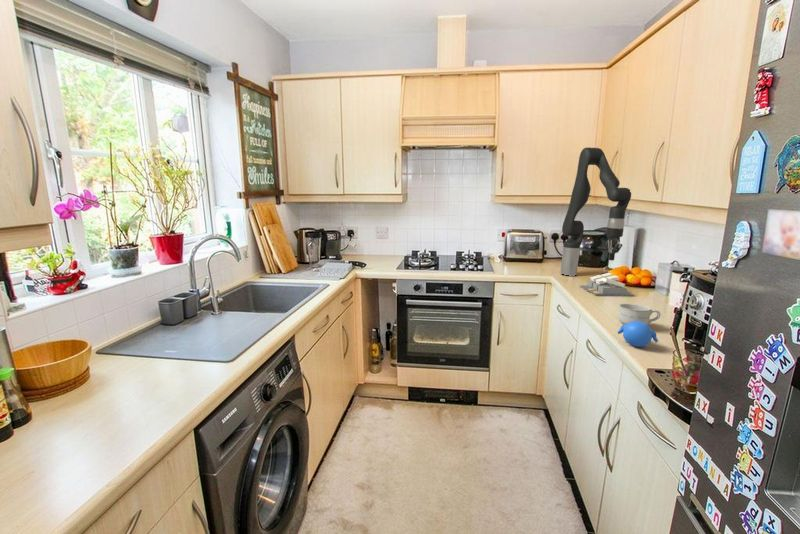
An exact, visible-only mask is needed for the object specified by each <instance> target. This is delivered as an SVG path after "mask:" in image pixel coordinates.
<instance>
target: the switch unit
mask: <svg viewBox="0 0 800 534" xmlns="http://www.w3.org/2000/svg"><path fill="white" fill-rule="evenodd" d="M579 288H581V289H582V288H583V290H584V289H585V290H584V291H586V290H587V291H586V292H588V293H589V294H591V293H592V295H593V294H594V296H595V297H635V294H634V293H631V292H629V291H628V288H627V287H625V286H624V287H621V286H618V285H614V284H611V283H603V284H598V283H596V281H595V282H594V281H592V280H591V279H588V280H587V285H584V284H583V285H582V284H581V285H579Z"/></svg>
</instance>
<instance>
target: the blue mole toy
mask: <svg viewBox="0 0 800 534" xmlns="http://www.w3.org/2000/svg"><path fill="white" fill-rule="evenodd" d="M617 334H618V335H620V334H622V337H623V338H624V341H626V343H627V344H629V345H631V346H633V347H637V348H639V347H640V348H641V347H646V346H647V345H649V344H651V342H652V340H653V341H654V342H655V343H657V342H658V341H659V339H658V337H657V332H656V331H655V330H653V329H652V328H651V327H650V326H649V325H648V324H645V323H643V322H640V321H633V322H630V323H628V324H627V325H623V324H622V325H621V326H620V328H619V330H617ZM658 343H659V342H658Z"/></svg>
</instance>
